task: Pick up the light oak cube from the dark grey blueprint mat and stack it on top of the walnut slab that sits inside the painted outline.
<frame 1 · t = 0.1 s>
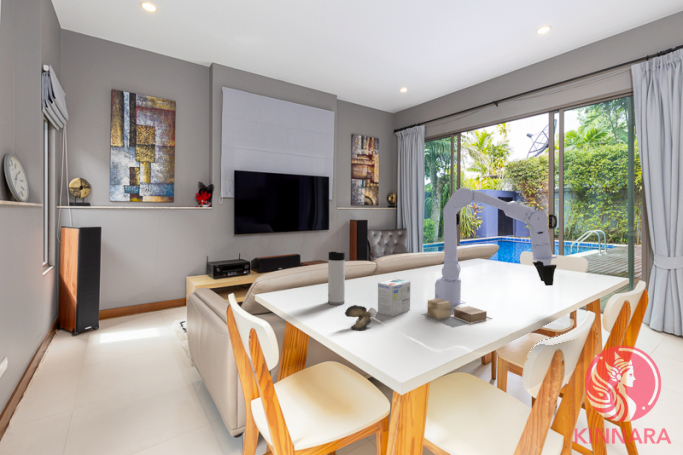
hand: (546, 283, 113), 11 cm above the table, tool pointing down, fingers open, 7 cm apart
oak cube: (438, 315, 108), resting on blueprint mat
travel mug: (336, 303, 124), on the table
eagle figurine: (360, 326, 99), on the table
blueprint mat: (456, 317, 107), on the table
light bulb box: (393, 312, 113), on the table
walnut slab: (470, 317, 106), resting on blueprint mat
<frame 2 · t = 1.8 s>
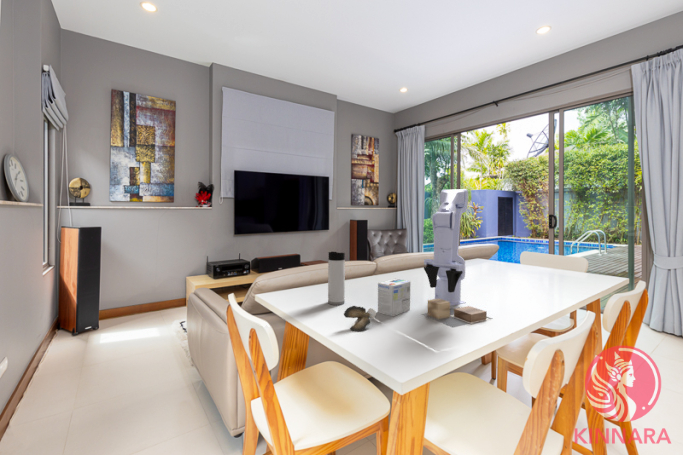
hand: (442, 289, 107), 9 cm above the table, tool pointing down, fingers open, 7 cm apart
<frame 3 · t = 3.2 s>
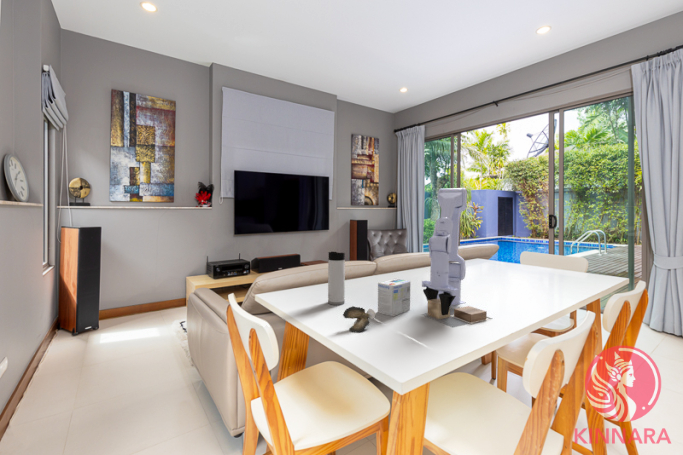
hand: (438, 312, 108), 2 cm above the table, tool pointing down, fingers closed on oak cube, 5 cm apart
oak cube: (438, 315, 108), resting on blueprint mat, touching gripper
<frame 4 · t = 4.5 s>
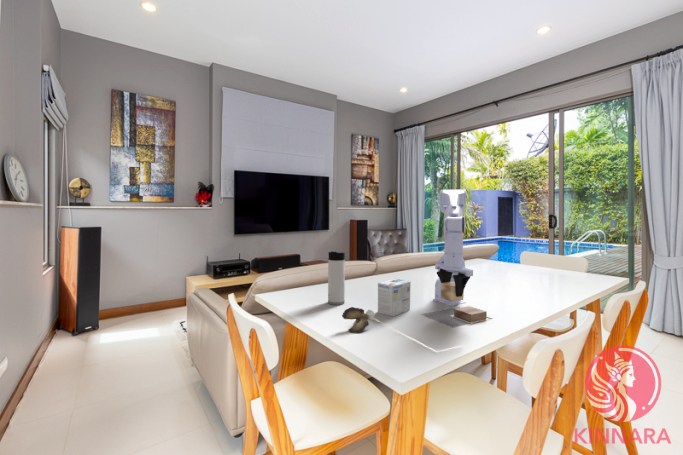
hand: (452, 294, 107), 8 cm above the table, tool pointing down, fingers closed on oak cube, 5 cm apart
oak cube: (451, 298, 107), point 6 cm above the table, touching gripper
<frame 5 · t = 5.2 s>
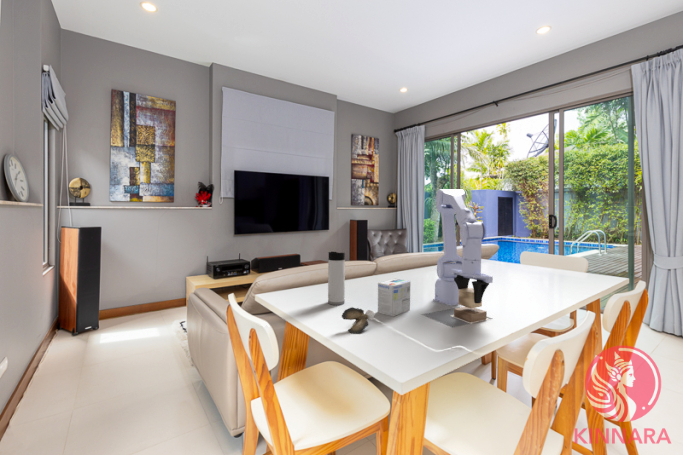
hand: (470, 300, 106), 6 cm above the table, tool pointing down, fingers closed on oak cube, 5 cm apart
oak cube: (469, 305, 106), point 5 cm above the table, touching gripper
when the fingers open (5 cm above the table, at t = 5.9 s): oak cube stays where it is, resting on walnut slab.
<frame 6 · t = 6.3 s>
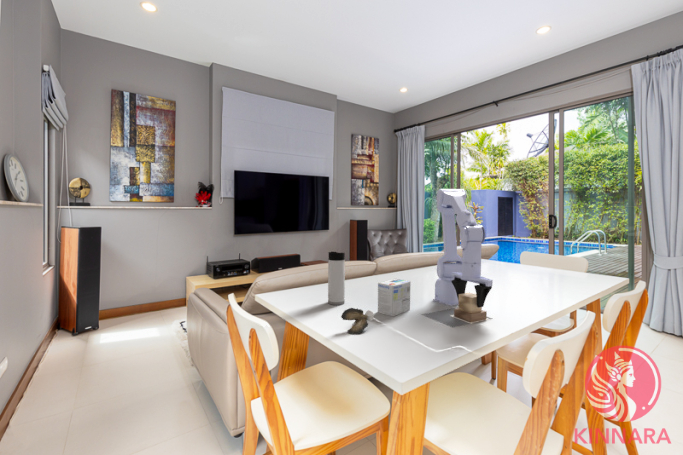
hand: (470, 303, 106), 5 cm above the table, tool pointing down, fingers open, 7 cm apart
oak cube: (469, 310, 106), point 3 cm above the table, touching walnut slab
walnut slab: (470, 317, 106), resting on blueprint mat, touching oak cube
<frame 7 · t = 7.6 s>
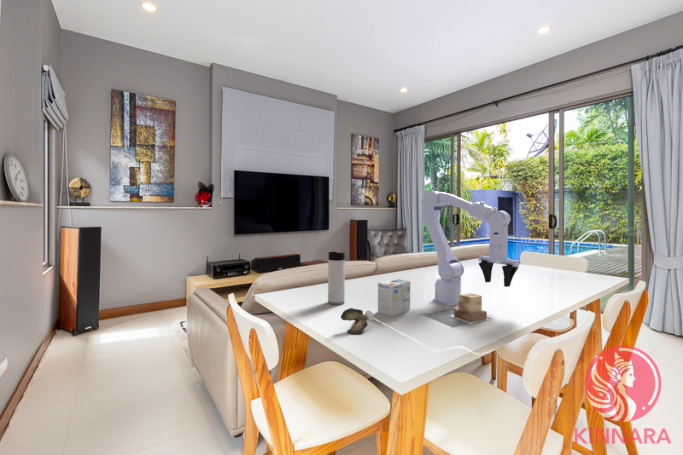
hand: (497, 284, 113), 10 cm above the table, tool pointing down, fingers open, 7 cm apart
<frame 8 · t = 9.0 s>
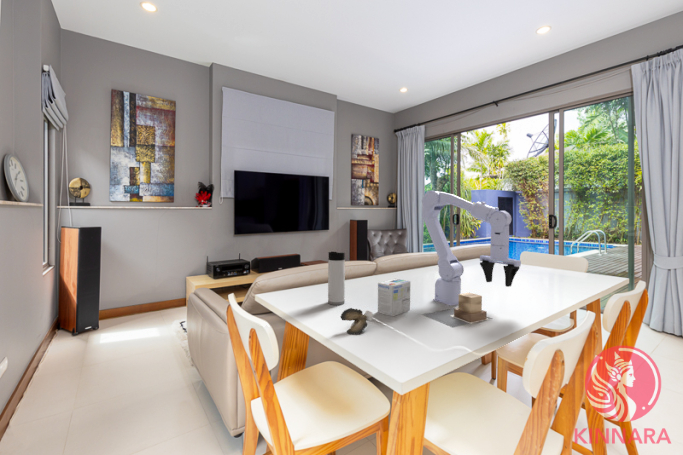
hand: (498, 284, 114), 10 cm above the table, tool pointing down, fingers open, 7 cm apart
at the end: oak cube 0.2 cm off-centre on the walnut slab, point 2.5 cm above the walnut slab's base; oak cube tilted 0°; the gripper is holding nothing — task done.
